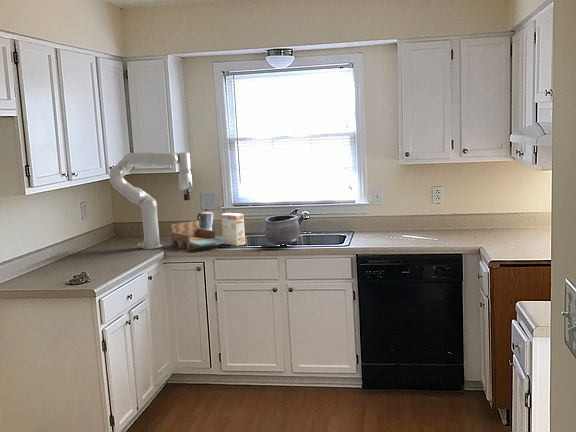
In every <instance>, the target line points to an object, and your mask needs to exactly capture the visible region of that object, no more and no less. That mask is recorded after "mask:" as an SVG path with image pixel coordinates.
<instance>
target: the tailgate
mask: <svg viewBox="0 0 576 432" xmlns="http://www.w3.org/2000/svg"><path fill="white" fill-rule="evenodd" d="M223 242H226V240H224V239H223V238H217V237H215V238H212V239H206V240H200V241H194V242H190V244H191V245H196V246H204V245H207V246H206V247H211V246H215V245H217V244H221V243H223ZM210 245H211V246H210Z"/></svg>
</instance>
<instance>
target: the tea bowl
mask: <svg viewBox="0 0 576 432" xmlns="http://www.w3.org/2000/svg"><path fill="white" fill-rule="evenodd" d="M264 221H265V222H264V236H265V239H266V241H267V242H268V243H273V244H274V245H288V244H291V243H292V242H296V241H297V240H298V239H299V237H300V234H301V230H300V224H299V218H298V215H293V214H292V215H291V214H281V215H280V214H279V215H273V216H269V217H267V218H265V219H264Z"/></svg>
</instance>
